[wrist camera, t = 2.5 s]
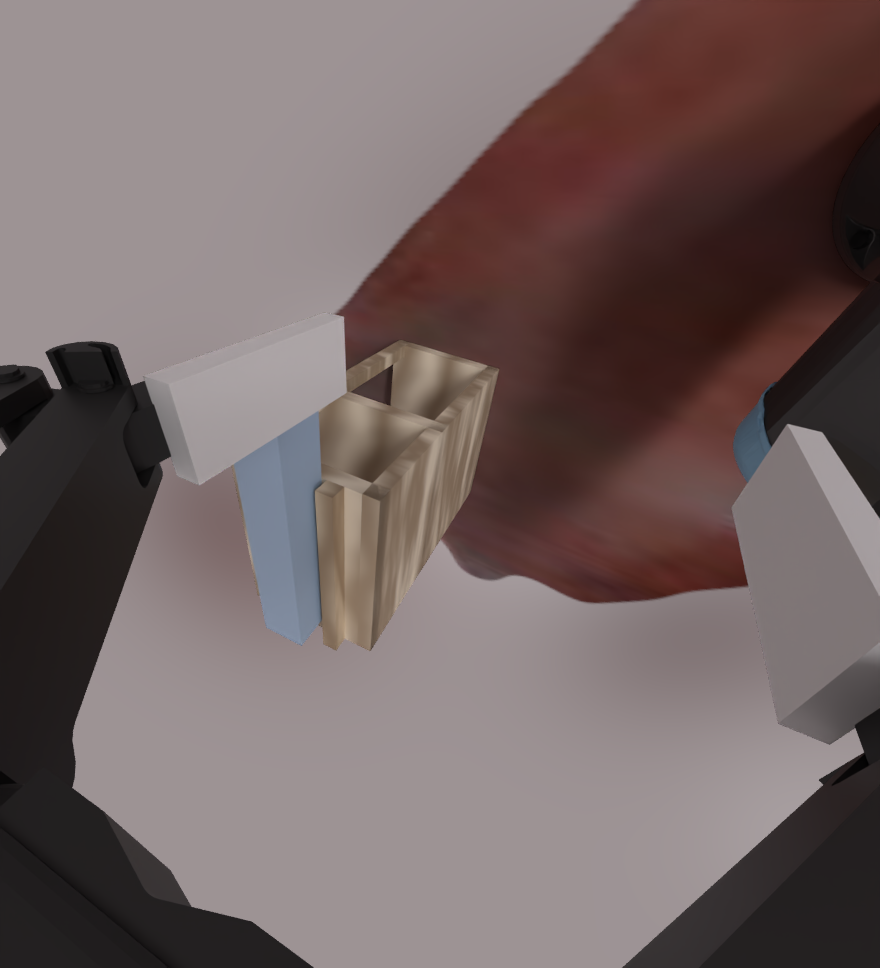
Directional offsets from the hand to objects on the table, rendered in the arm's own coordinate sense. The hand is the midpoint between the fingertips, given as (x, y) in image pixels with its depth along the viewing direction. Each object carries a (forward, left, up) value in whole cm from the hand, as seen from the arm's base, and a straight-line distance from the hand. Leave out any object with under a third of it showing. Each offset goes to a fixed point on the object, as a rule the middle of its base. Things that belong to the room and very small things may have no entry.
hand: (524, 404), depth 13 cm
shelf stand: (+16, +24, -39) cm, 48 cm away
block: (+16, +18, -9) cm, 26 cm away
